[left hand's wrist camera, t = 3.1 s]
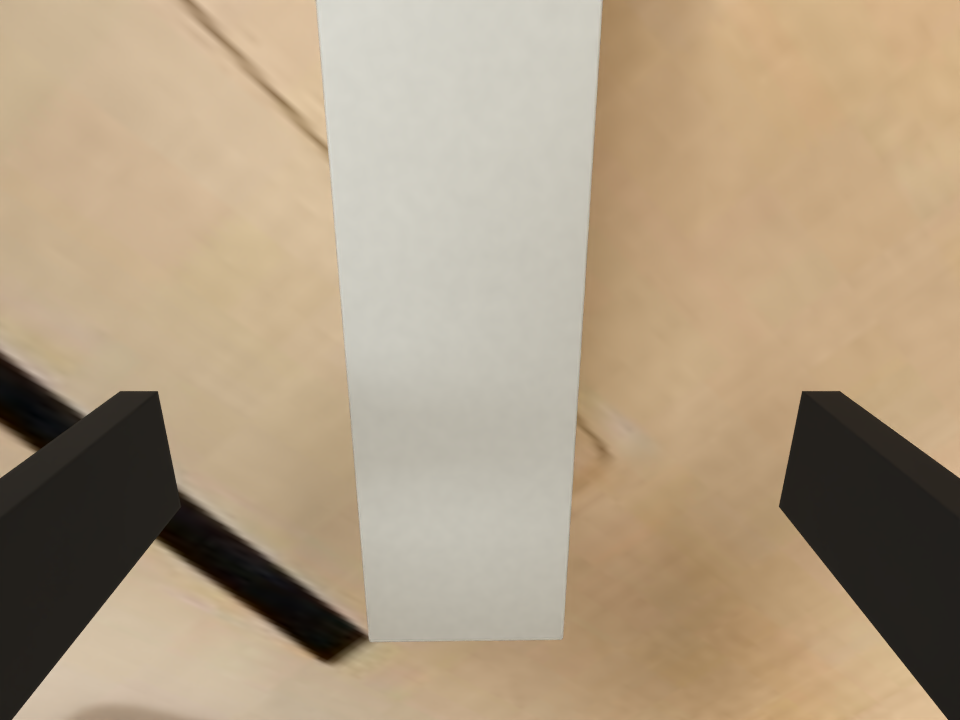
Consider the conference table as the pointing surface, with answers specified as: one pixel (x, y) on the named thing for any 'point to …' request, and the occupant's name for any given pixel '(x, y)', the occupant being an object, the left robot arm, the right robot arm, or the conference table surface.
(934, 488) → the left robot arm
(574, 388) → the post
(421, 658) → the conference table surface
